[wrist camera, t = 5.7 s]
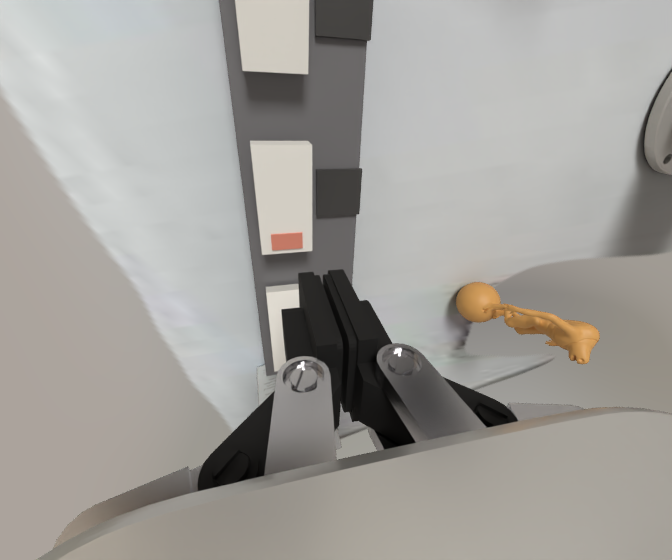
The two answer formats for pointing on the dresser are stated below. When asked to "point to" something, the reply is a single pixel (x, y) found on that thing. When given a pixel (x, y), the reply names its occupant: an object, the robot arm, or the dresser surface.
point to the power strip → (306, 139)
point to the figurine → (528, 320)
